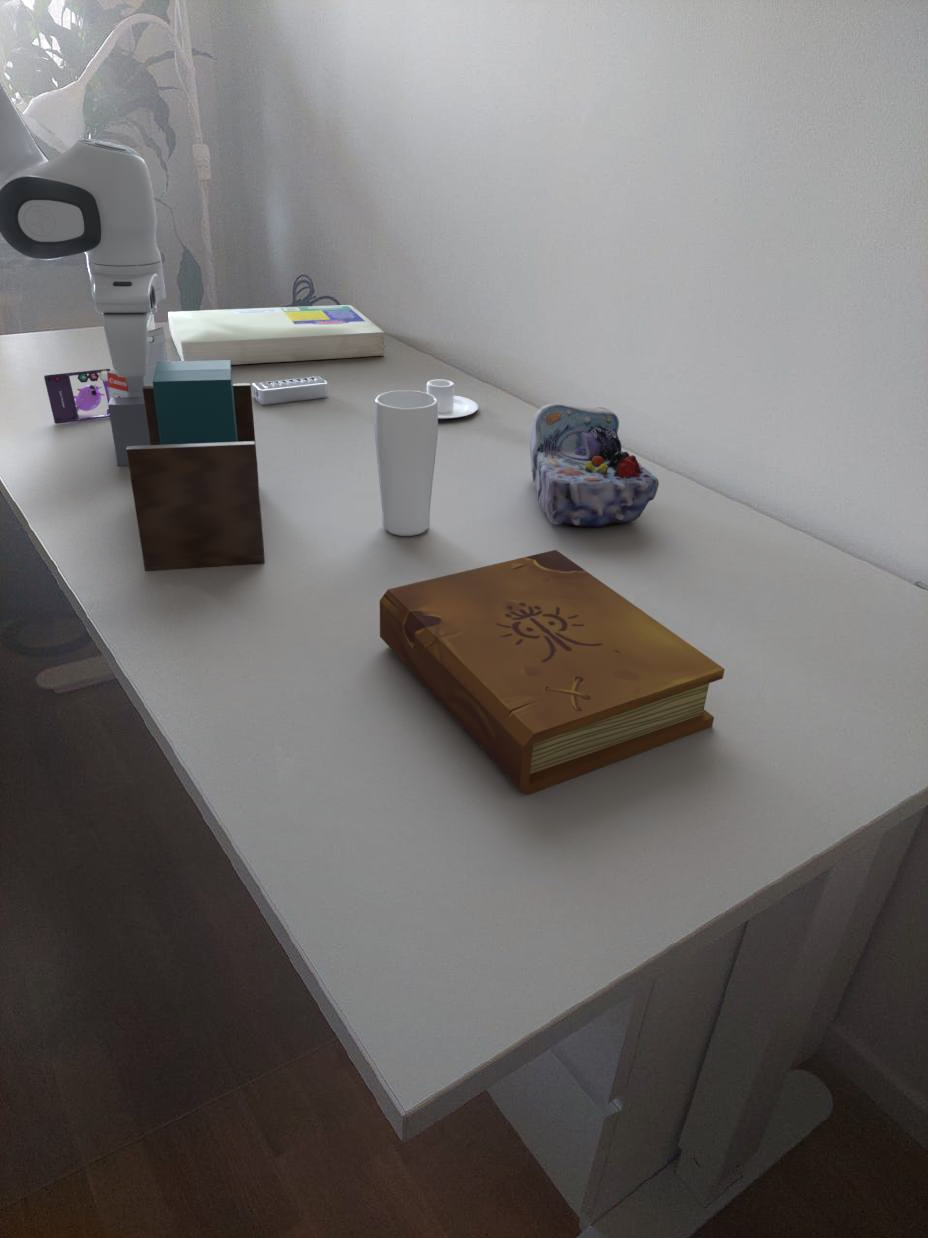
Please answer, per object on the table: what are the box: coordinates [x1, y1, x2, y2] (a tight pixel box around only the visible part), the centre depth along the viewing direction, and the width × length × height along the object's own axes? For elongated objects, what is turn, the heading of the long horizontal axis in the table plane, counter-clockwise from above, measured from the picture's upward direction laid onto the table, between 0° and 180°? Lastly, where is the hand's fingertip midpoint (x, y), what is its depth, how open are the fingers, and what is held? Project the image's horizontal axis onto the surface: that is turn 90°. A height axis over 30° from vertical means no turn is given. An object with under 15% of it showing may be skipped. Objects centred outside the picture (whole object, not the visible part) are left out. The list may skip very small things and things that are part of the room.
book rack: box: [126, 382, 265, 572], centre depth 102 cm, size 12×21×13 cm, turn 12°
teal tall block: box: [153, 360, 238, 445], centre depth 106 cm, size 8×8×15 cm
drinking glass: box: [374, 389, 439, 537], centre depth 103 cm, size 7×7×15 cm
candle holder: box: [426, 378, 479, 420], centre depth 143 cm, size 12×12×4 cm
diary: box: [379, 549, 726, 796], centre depth 78 cm, size 23×19×6 cm
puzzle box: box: [167, 304, 386, 366], centre depth 173 cm, size 36×5×24 cm
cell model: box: [529, 403, 660, 528], centre depth 111 cm, size 13×11×20 cm
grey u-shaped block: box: [107, 397, 150, 467], centre depth 126 cm, size 7×18×8 cm, turn 12°
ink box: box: [107, 326, 168, 398], centre depth 124 cm, size 4×8×15 cm, turn 154°
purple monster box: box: [43, 368, 112, 425], centre depth 135 cm, size 7×5×9 cm
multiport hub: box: [252, 375, 329, 406], centre depth 147 cm, size 4×11×2 cm, turn 118°
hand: (142, 392), depth 125 cm, fingers closed on ink box, 7 cm apart
